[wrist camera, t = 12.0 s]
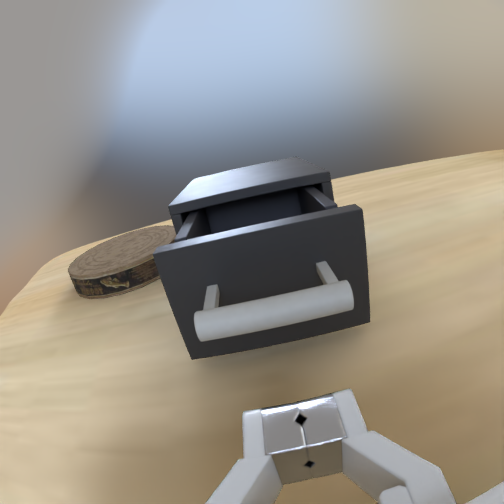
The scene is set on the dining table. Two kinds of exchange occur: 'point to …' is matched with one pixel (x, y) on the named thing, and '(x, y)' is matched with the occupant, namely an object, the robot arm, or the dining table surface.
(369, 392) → the dining table surface
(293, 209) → the drawer
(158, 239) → the round wood slice
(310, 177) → the cabinet
